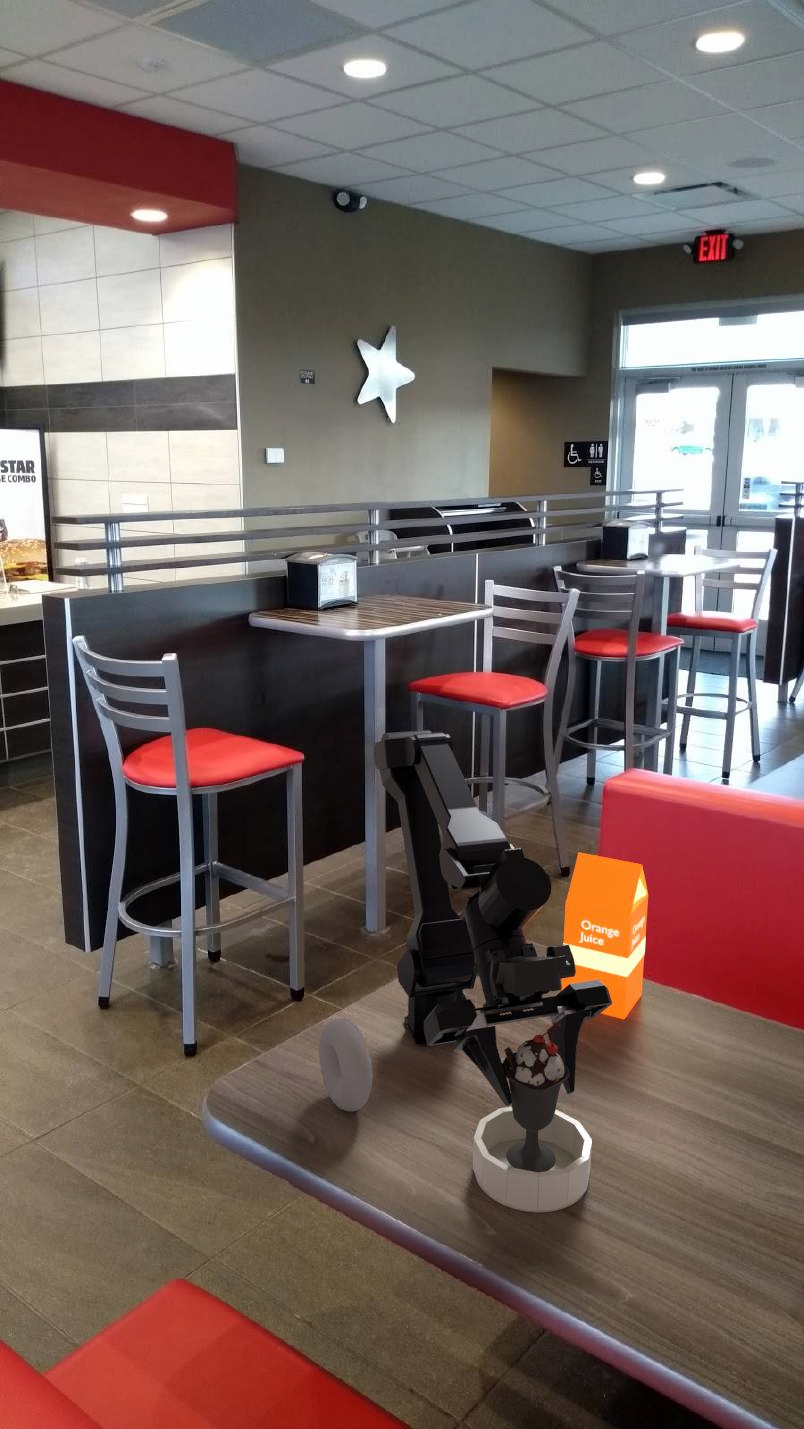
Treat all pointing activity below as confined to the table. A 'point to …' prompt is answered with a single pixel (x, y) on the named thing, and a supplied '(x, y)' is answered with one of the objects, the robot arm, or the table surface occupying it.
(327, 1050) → the donut
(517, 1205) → the white faceted bowl
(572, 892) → the orange juice
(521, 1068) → the sundae
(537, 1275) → the table surface
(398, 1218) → the table surface
